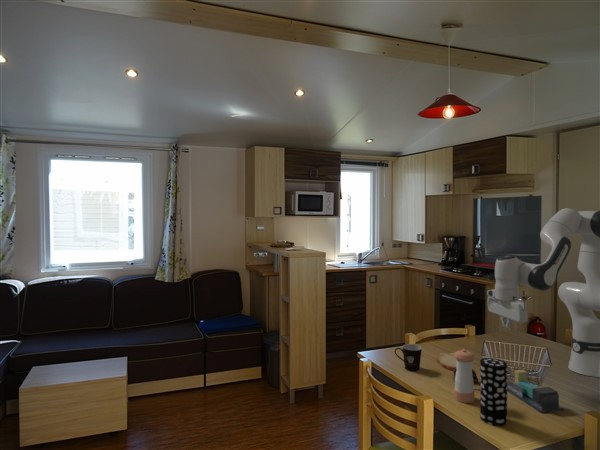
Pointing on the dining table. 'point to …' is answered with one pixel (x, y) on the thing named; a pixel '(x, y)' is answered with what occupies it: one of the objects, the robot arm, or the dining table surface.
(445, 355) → the bread slice
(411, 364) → the coffee mug
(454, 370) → the pottery mug
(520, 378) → the teal yellow slider block
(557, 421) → the dining table surface
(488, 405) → the white-spotted black cylinder
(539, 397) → the guide
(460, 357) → the pepper shaker
